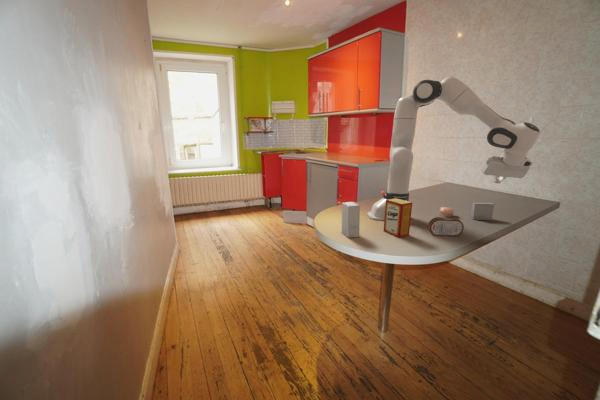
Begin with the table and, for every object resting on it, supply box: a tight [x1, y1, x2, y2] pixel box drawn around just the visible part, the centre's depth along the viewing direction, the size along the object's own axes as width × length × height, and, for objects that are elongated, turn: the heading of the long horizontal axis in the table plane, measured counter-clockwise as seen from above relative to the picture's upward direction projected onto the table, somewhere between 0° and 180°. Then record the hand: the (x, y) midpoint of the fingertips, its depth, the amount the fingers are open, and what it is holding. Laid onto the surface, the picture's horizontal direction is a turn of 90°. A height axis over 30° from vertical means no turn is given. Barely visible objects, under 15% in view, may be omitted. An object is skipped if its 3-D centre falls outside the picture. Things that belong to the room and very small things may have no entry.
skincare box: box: [341, 201, 361, 238], centre depth 130 cm, size 8×6×15 cm
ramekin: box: [439, 206, 455, 218], centre depth 162 cm, size 7×7×4 cm
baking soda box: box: [383, 198, 413, 239], centre depth 131 cm, size 10×6×16 cm
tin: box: [427, 216, 465, 237], centre depth 130 cm, size 15×3×8 cm, turn 84°
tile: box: [470, 202, 495, 221], centre depth 154 cm, size 10×3×9 cm, turn 87°
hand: (495, 182), depth 140 cm, fingers closed
